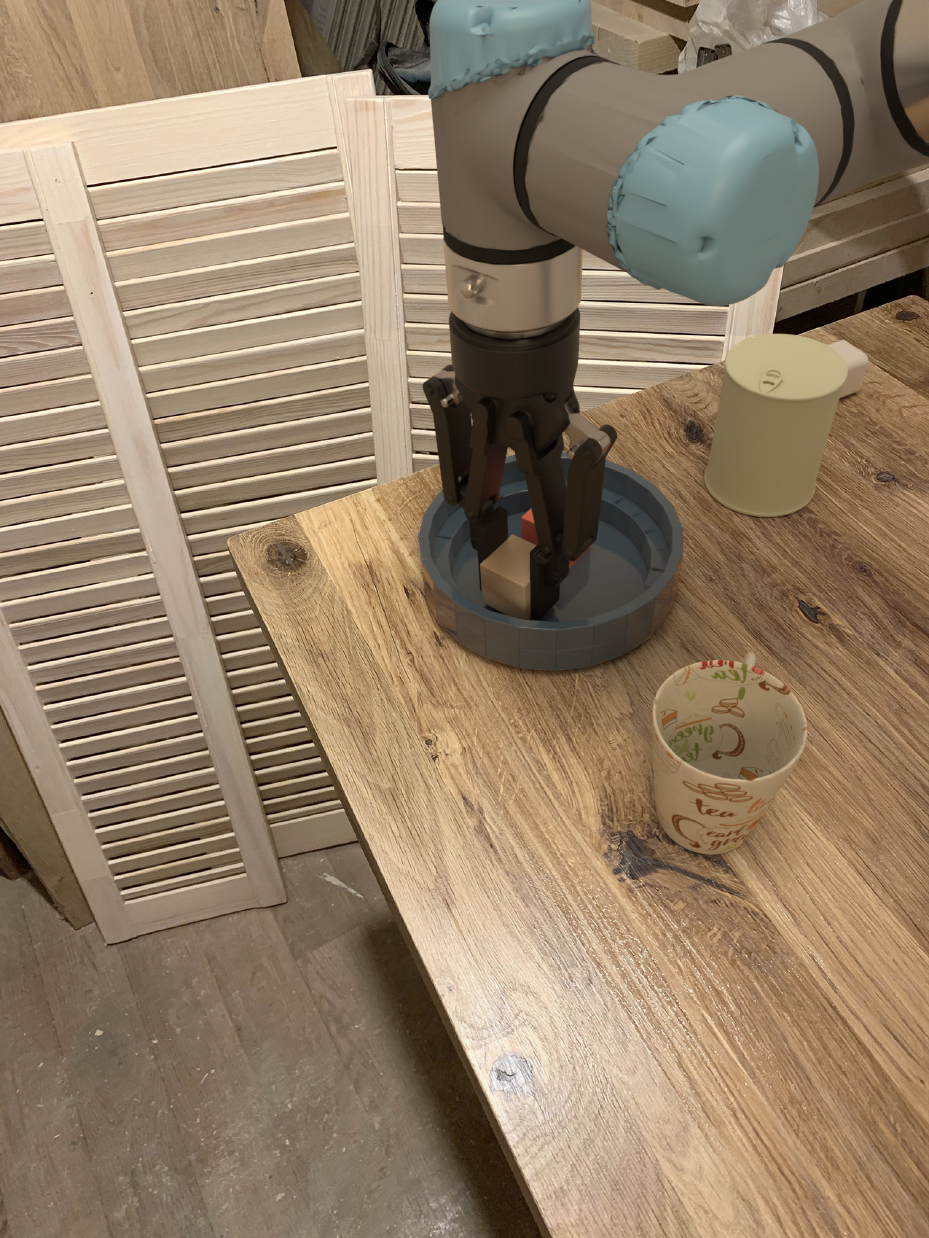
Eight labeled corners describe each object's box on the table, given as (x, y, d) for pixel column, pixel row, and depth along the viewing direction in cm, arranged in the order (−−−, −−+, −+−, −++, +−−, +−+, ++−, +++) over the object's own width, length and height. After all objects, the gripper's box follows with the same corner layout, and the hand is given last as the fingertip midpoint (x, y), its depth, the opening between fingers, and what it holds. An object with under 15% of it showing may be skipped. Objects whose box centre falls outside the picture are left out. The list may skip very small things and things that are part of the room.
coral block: (591, 546, 74) (593, 508, 71) (562, 575, 72) (564, 537, 69) (549, 527, 76) (550, 489, 73) (521, 555, 74) (520, 517, 71)
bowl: (721, 558, 73) (731, 510, 70) (584, 719, 64) (588, 673, 60) (520, 470, 82) (520, 424, 79) (373, 600, 72) (365, 554, 69)
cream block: (556, 593, 70) (556, 554, 67) (525, 625, 68) (524, 586, 65) (513, 572, 72) (512, 533, 69) (481, 602, 70) (479, 564, 67)
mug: (622, 848, 57) (635, 755, 49) (669, 695, 65) (687, 595, 57) (760, 891, 54) (796, 800, 47) (792, 727, 62) (827, 627, 55)
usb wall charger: (858, 394, 87) (870, 357, 84) (800, 416, 85) (809, 379, 83) (829, 374, 90) (839, 337, 87) (772, 395, 88) (780, 358, 85)
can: (685, 494, 79) (705, 371, 70) (730, 438, 84) (753, 316, 75) (790, 532, 75) (824, 407, 66) (831, 470, 80) (867, 346, 71)
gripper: (359, 295, 54) (401, 578, 72) (606, 384, 47) (587, 677, 64) (440, 245, 58) (461, 525, 75) (680, 320, 51) (643, 612, 68)
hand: (519, 594), depth 70 cm, fingers closed on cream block, 4 cm apart
